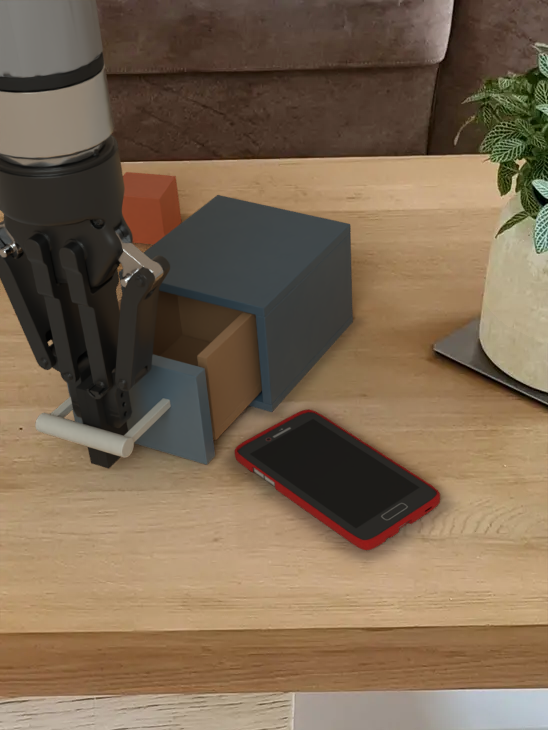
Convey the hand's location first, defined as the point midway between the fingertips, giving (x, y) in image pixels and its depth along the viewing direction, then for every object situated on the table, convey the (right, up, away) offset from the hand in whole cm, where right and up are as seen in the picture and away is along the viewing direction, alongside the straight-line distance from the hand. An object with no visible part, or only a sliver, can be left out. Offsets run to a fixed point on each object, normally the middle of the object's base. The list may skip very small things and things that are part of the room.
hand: (111, 454), depth 83 cm
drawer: (+3, +3, +6) cm, 7 cm away
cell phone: (+16, -2, +2) cm, 16 cm away
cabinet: (+7, +9, +16) cm, 19 cm away
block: (-5, +22, +31) cm, 38 cm away
